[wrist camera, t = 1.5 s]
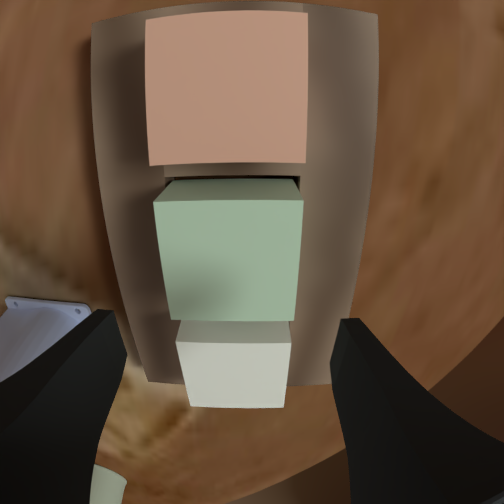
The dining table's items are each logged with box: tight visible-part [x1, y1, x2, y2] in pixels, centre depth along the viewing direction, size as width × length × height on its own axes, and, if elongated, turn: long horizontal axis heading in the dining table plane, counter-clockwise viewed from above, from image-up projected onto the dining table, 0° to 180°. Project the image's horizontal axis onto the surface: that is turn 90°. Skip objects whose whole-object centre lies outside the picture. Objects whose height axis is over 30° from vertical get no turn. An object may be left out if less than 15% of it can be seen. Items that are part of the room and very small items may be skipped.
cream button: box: [176, 320, 291, 408], centre depth 18 cm, size 6×6×4 cm
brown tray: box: [91, 1, 379, 386], centre depth 17 cm, size 14×24×2 cm, turn 0°
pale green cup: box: [90, 464, 127, 504], centre depth 33 cm, size 9×9×12 cm
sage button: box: [153, 179, 304, 321], centre depth 15 cm, size 6×6×4 cm
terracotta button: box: [145, 10, 308, 166], centre depth 12 cm, size 6×6×4 cm
